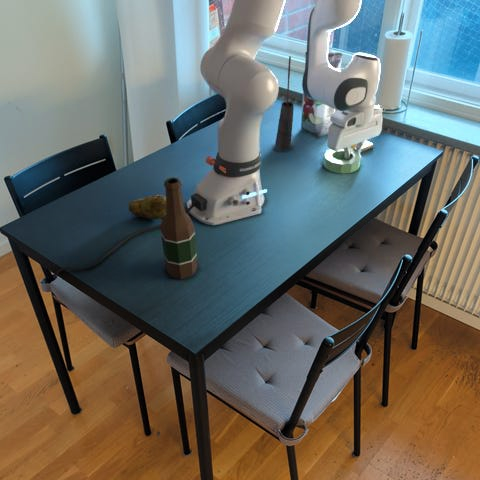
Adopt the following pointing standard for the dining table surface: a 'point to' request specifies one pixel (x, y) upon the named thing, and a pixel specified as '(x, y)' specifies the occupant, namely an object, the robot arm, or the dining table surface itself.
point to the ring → (336, 165)
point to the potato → (149, 207)
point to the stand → (365, 146)
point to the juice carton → (319, 106)
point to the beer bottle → (178, 234)
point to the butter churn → (285, 122)
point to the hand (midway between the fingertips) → (352, 155)
